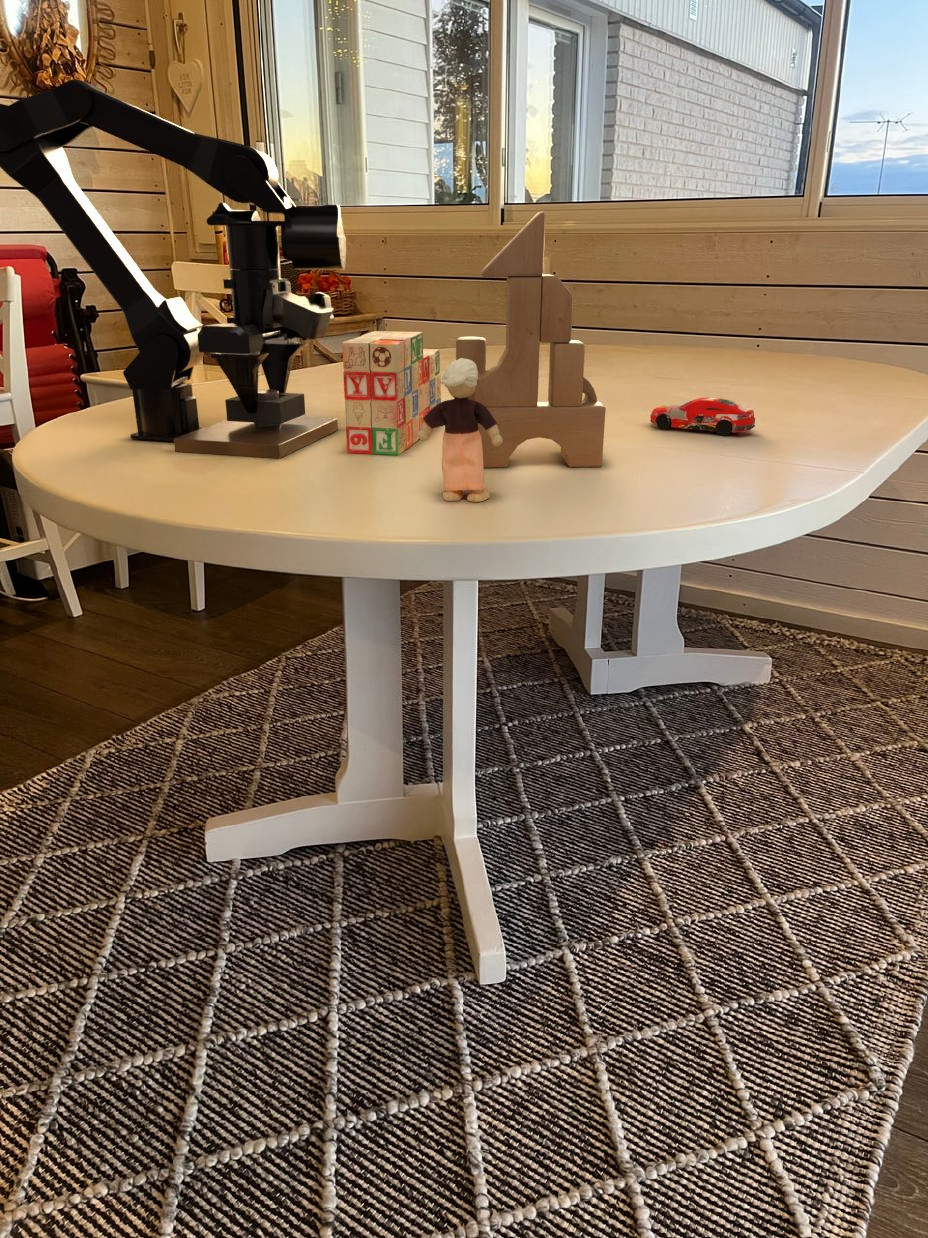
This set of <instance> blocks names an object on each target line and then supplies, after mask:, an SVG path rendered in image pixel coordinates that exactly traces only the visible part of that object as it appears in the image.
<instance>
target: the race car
mask: <svg viewBox="0 0 928 1238" xmlns="http://www.w3.org/2000/svg"><path fill="white" fill-rule="evenodd" d="M649 417H650V420H649V421H650V423H651V424H653V425H657V427H658V428H659V430H661V431H662V430H663V431H664V430H668V429H669V428H676V429H688V430H698V431H706V432H707V431H708V432H716V433H718V434H719V435H720V436H724V437H725V436H728V435H730V434H731V433H741V432H742V433H743V432H747V431H751V430H752V429H754V428H756V425H755V424H756V417H755V410H754V409H753V408H751V407H747V406H744V405H742V404H740V403H738V402H736V401H733V400H729V399H726V398H722V397H721V398H719V397H712V396H711V397H707V396H706V397H698V398H695V399H693V400H690V401H687V402H685V403H681V404H666V405H661V406H660V405H659V406H657V407H655V408H653V409H652V411H651V413H650V415H649Z"/></svg>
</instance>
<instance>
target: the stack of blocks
mask: <svg viewBox="0 0 928 1238" xmlns="http://www.w3.org/2000/svg"><path fill="white" fill-rule="evenodd" d="M423 333H424V332H423V331H394V330H393V331H392V330H391V331H389V330H387V331H386V330H385V331H384V330H374V331H370V332H367V333H365V334H362V335H359V336H358V337H355V338H352V339H347V340H345V341H342V342H341V343H342V345H341V347H342V348H341V349H342V364H343V365H342V366H343V374H342V375H343V395H344V397H343V398H344V406H345V424H346V425H345V436H346V452H347V454H362V455H364V454H366V455H372V454H374V455H384V456H386V455H387V456H399V455H401V454H402V453H403V452H405V451H406V450H407V449H409V448H410V447H411V446H412V445H413V444H415V443H416V442H417V441H418V440H420V438H419V437H418V434H419V432H420V431H421V429H422V425H423V422H424V420H423V418H424V417H425V415H426V414H427V413H428V412H429V411H430V410H431V409H432V408H433V407H435V406H436V405H438V404H439V403H441V402H442V383H441V382H442V377H441V376H442V375H441V373H440V372H441V369H440V368H441V365H440V364H441V361H440V359H441V355H440V352H441V351H440V349H435V348H433V349H431V348H424V334H423Z"/></svg>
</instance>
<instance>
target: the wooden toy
mask: <svg viewBox="0 0 928 1238" xmlns="http://www.w3.org/2000/svg"><path fill="white" fill-rule="evenodd" d="M545 239H546V213H545V211H539V212H537V213H536V214H535V215H534V216H533V217H532V218H531V219H530V220H529V221H528V222H527V223H526V224H525V225H524V226H523V227H522V228H521V229H520V230H519V231H518V232H517V233H516V234H515V235H514V236H513V237H512V238H511V240H510V241H508V242H507V244H506V245H505V246H504V247H502V249H501V250H499V252H498V253H497V254H496V255H495V256H494V257H493V258H492V259H491V260H490V261H489V262H488V263H487V264H486V265H485V266H484V267H483V268H482V269H481V270H480V274H479V275H480V276H482V277H483V278H506V307H505V308H506V309H505V310H506V312H505V348H504V351H503V353H502V354H501V356H500V357H499V359H498V361H497V363H496V364H494V365H493V366H491V367H490V368H488V369H487V340H486V338H485V337H483V336H460V337H457V338H456V340H455V360H458V359H460V358H463V359H469V360H472V361H473V362H474V363H475V364H476V366H477V369H478V379H477V385H476V387H475V391H474V393H473V395H471V396H470V397H469V398H468V399H471V400H475V401H478V402H480V403H482V404H483V405H484V406H485V407H486V408H487V409H488V410H489V412H490V413H491V415H492V416H493V418H494V419H495V420H496V422H497V427H498V429H499V435H500V436H501V437H502V439H503V442H502V444H501V445H499V446H494V445H493V444H492V442H491V437H490V436H489V435H488V432H487V430H485V429H484V427H483V426H482V425H481V424H479V423H478V428H479V432H480V435H481V439H482V449H483V467H484V469H486V468H490V469H491V468H494V469H495V468H497V469H498V468H502V469H503V468H508V467H509V465H510V462H511V461H510V460H511V456H512V455H513V454H514V452H515V450H516V449H517V448H518V447H519V446H520V445H521V444H523V443H525V442H526V441H528V440H533V439H538V438H541V439H547V440H551V441H553V442H554V443H556V444H557V445H558V446H559V447H560V455H561V456H562V458H563V460H564V462H565V463H566V465H567V466H568V467H570V468H600V467H602V465H603V457H604V439H605V425H606V424H605V423H606V406H605V405H604V404H603V403H601V402H600V401H598V396H597V393H596V390H595V388H594V386H593V385H592V384H591V382H590V381H589V380H588V379H587V378H586V377H584V375H585V374H584V373H585V356H586V355H585V354H586V353H585V352H586V345H585V343H583V342H582V341H580V340H578V339H577V340H576V339H574V340H573V339H572V330H573V329H572V328H573V311H574V310H573V307H574V294H573V293H572V292H571V291H570V290H569V288H568V287H567V286H566V285H565V284H564V283H563V281H562V280H561V279H560V277H559V276H557V275H554V274H544V265H545ZM540 343H542V344H549V361H548V363H549V364H548V365H549V366H548V368H549V369H548V388H547V390H548V391H547V401H538V399H539V377H540V376H539V374H540V373H539V371H540V345H541V344H540ZM583 394H584V397H583Z"/></svg>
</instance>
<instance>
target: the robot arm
mask: <svg viewBox="0 0 928 1238" xmlns="http://www.w3.org/2000/svg"><path fill="white" fill-rule="evenodd" d="M91 128H95V129H97V130H99V131H102V132H104V133H106V134H109V135H111V136H114V137H116V138H118V139H120V140H122V141H125V142H127V143H129V144H132V145H134V146H135V147H138V148H140V149H143V150H145V151H148V152H149V153H152V154H155V155H156V156H159V157H161V158H163V159H166V160H168V161H170V162H172V163H175V164H177V165H178V166H179V165H180V166H181V167H183V168H185V169H186V170H187V171H189V172H190V173H192V174H193V175H195V176H196V177H197V178H199V179H200V180H202V181H203V182H204V183H206V184H207V185H208V186H210V187H211V188H213V189H215V190H216V191H218V193H221V194H222V195H223V196H225V197H226V198H228V199H230V200H231V201H233V202H236V203H239V204H245V205H251V206H256V207H257V208H259V209H260V210H261V211H262V212H265V213H267V214H273V215H274V214H275V215H283V218H284V219H283V220H262V219H261V215H260V214H259V212H258V211H257V210H256V209H255V210H254V209H252V210H251V209H248V210H247V209H246V210H245V209H235V210H234V209H232V208H231V207H230V206H229V205H228V204H227V203H225V202H219V203H218V205H217V207H216V209H215V211H213V212H212V214H210V215H209V216H208V217H207V218H206V219H205V220H206V224H207V225H208V226H215V227H225V230H226V231H225V232H226V244H227V253H228V254H227V255H228V256H227V257H228V266H229V276H230V278H223V279H222V281H223V289H224V290H226V289H227V290H231V299H232V300H231V301H232V312H233V316H227V317H226V323H214V324H213V323H212V324H206V325H204V324H203V323H201V322H200V321H199V320H197V319H196V318H195V317H194V316H193V315H192V313H191V312H190V309H189V308H188V306H187V304H186V301H184V299H183V298H182V297H181V296H177V297H171V298H165V297H164V296H163V295H162V294H161V293H159V292H158V291H157V290H156V289H155V288H154V286H153V285H152V284H151V283H150V281H149V279H147V277H146V276H145V274H144V273H143V272H142V270H141V269H140V268H139V267H138V264H137V263H136V262H135V261H134V260H133V258H132V257H131V255H130V254H129V253H128V252H127V250H126V249H125V247H124V246H123V245H122V243H121V241H120V240H119V239H118V238H117V236H115V233H114V232H113V231H112V230H111V229H110V227H109V225H108V224H107V222H106V221H105V220H104V219H103V218H102V215H100V213H99V212H98V211H97V209H96V208H95V206H94V205H93V204H92V203H91V201H90V200H89V198H88V197H87V196H86V195H85V193H84V192H83V191H82V189H81V187H80V186H79V185H78V184H77V182H76V180H75V178H74V175H73V173H72V169H71V166H70V162H69V159H68V157H67V154H66V152H65V149H64V148H63V147H65V146H67V145H69V144H71V143H72V142H74V141H75V140H77V139H78V138H79V137H80V136H82V135H83V134H84V133H85V132H87V131H88V130H90V129H91ZM0 169H1V170H2V171H3V172H4V173H5V174H6V175H7V176H8V177H9V178H11V179H12V180H13V181H15V182H16V183H18V184H19V185H20V186H21V187H23V189H25V190H26V191H27V192H29V193H30V194H31V195H33V196H34V197H35V198H36V199H38V201H39V202H40V203H41V205H42V206H43V207H44V208H45V210H46V211H47V212H48V213H49V215H50V217H51V218H52V219H53V221H54V222H55V223H56V224H57V226H58V227H59V228H60V230H61V231H62V232H63V234H64V235H65V236H66V237H67V239H68V240H69V241H70V243H71V244H72V245H73V247H74V248H75V249H76V251H77V253H78V254H79V255H80V256H81V257H82V259H83V260H84V261H85V263H86V264H87V265H88V267H89V268H90V270H91V271H92V272H93V273H94V275H95V276H96V277H97V279H98V280H99V282H101V284H102V285H103V287H104V288H105V289H106V290H107V292H108V293H109V294H110V296H111V297H112V299H113V300H114V301H115V303H116V304H117V305H118V307H119V308H120V310H121V311H122V313H123V315H124V318H125V319H124V320H125V322H126V325H127V328H128V331H129V335H130V337H131V339H132V341H133V343H134V345H135V347H136V348H137V350H138V352H139V353H138V354H136V356H135V357H134V358H133V359H132V360H131V361H130V363H129V364H128V365H127V367H125V369H124V370H123V371H122V374H123V377H124V379H125V381H126V384H127V385H128V388H129V389H130V390H131V391H132V400H133V407H134V414H135V421H136V422H135V423H136V429H137V431H136V432H133V433H131V434H130V435H129V436H130V439H133V440H146V441H147V440H148V441H149V440H150V441H163V442H174V438H177V437H180V436H182V435H185V434H188V433H191V432H194V431H196V430H199V429H202V428H203V427H200V422H199V412H198V403H197V397H196V396H194V394H193V386H192V385H193V384H192V383H187V382H186V381H190V380H191V379H192V376H193V371H194V367H196V366H197V365H198V364H199V363H200V362H201V361H202V360H203V357H204V355H205V354H206V353H209V354H210V358H211V359H214V360H215V361H216V363H217V364H218V365H219V367H220V369H221V370H222V372H223V374H224V375H225V377H226V378H227V380H228V381H229V383H230V386H232V388H233V390H234V392H235V394H236V396H238V397H239V399H240V401H241V402H242V404H243V406H244V408H245V409H246V411H247V412H248V413H255V412H256V411H257V402H258V390H259V368H260V366H261V368H262V372H263V374H264V377H265V380H266V383H267V386H268V389H271V390H278V391H279V393H287V389H288V384H289V379H290V374H291V370H292V367H293V363H294V359H295V357H296V356H297V355H298V354H299V353H300V352H301V351H302V350H304V349H305V348H307V346H308V342H298V339H301V340H302V341H309V340H317V338H320V337H321V338H325V337H326V335H327V331H328V327H329V324H330V323H333V322H334V321H335V316H334V310H335V309H334V308H333V307H332V303H331V302H332V301H331V296H330V295H328V294H326V293H323V292H321V291H316V292H313V293H311V294H310V295H309V297H308V298H307V296H305V295H298V294H295V293H292V286H291V285H292V284H291V282H290V281H289V278H282V270H281V269H282V268H281V256H280V255H281V253H280V245H281V252H282V257H283V259H284V260H285V261H291V263H292V267H293V268H294V270H301V271H302V270H303V271H305V270H307V271H308V270H311V271H312V270H313V271H315V270H317V271H318V270H319V271H323V270H324V271H329V270H330V271H344V270H345V269H346V265H347V264H346V263H347V237H346V236H345V232H344V223H343V219H342V209H341V206H340V205H339V204H324V205H321V206H320V205H319V206H296V204H295V203H294V201H293V200H292V199H293V198H291V197H290V196H289V195H288V193H287V192H286V191H285V189H284V188H283V187H282V186H281V184H280V183H279V171H278V168H277V166H276V164H275V162H274V160H273V159H272V157H270V156H269V155H268V154H267V153H265V152H264V151H262V150H260V149H256V148H255V147H252V146H249V145H246V144H243V143H239V142H235V141H231V140H226V139H222V138H218V137H214V136H209V135H204V134H201V133H196V132H193V131H191V130H189V129H186V128H184V127H182V126H179V125H178V124H175V123H173V122H171V121H168V120H166V119H163V118H162V117H160V116H157V115H155V114H152V113H150V112H149V111H146V110H144V109H142V108H140V107H137V106H135V105H133V104H131V103H129V102H126V101H123V100H122V99H119V98H117V97H115V96H112V95H110V94H108V93H106V92H104V91H102V90H101V89H100V88H99V87H97V86H96V85H93V84H91V83H89V82H86V81H83V80H80V79H76V78H73V79H68V80H67V81H66V82H63V83H61V84H60V85H58V86H55V87H54V88H51V89H48V90H45V91H42V92H39V93H36V94H33V95H30V96H27V97H24V98H21V99H19V100H16V101H15V102H12V103H11V104H9V105H8V104H4V103H0ZM279 227H280V238H279ZM279 239H280V240H279Z"/></svg>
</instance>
